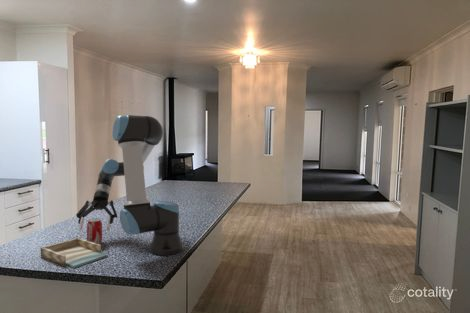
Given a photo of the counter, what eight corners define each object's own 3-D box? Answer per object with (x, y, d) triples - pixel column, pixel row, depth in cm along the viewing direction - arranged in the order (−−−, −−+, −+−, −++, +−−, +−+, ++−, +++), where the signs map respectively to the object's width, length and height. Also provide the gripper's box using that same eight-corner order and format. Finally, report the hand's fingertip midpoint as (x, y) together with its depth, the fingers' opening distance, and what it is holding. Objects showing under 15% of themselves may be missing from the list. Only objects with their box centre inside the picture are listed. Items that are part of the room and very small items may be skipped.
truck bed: (109, 256, 156) (108, 247, 156) (71, 268, 141) (71, 259, 141) (78, 245, 170) (78, 237, 169) (40, 256, 155) (40, 247, 154)
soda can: (83, 244, 172) (83, 220, 171) (94, 240, 178) (94, 217, 177) (95, 246, 169) (94, 222, 168) (105, 242, 176) (105, 218, 175)
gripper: (126, 197, 192) (120, 232, 178) (79, 198, 189) (70, 233, 175) (124, 190, 186) (118, 225, 172) (76, 190, 183) (66, 225, 170)
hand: (94, 229), depth 174 cm, fingers open, 13 cm apart
